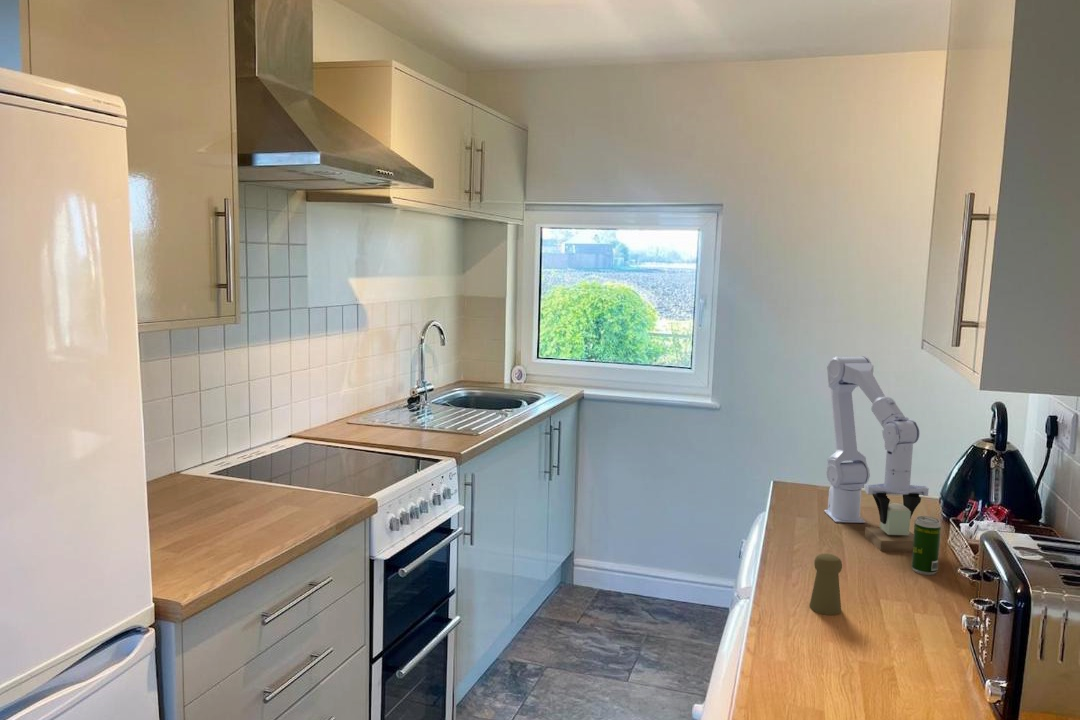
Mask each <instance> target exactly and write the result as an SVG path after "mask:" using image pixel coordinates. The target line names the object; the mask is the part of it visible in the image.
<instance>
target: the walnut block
mask: <svg viewBox="0 0 1080 720" xmlns="http://www.w3.org/2000/svg"><path fill="white" fill-rule="evenodd" d="M864 537H865V538H866V540H867V541H869V542H870V543H871V544H872V545H874V547H876V548H877V550H879V551H880V552H908V553H909V552H910V553H911V552H912V550H913V537H914V532H911V531H910V530H909V535H888V534H887V533H886V532H885V531H883V530H882V529H881V528H880V526H865V528H864Z"/></svg>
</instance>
